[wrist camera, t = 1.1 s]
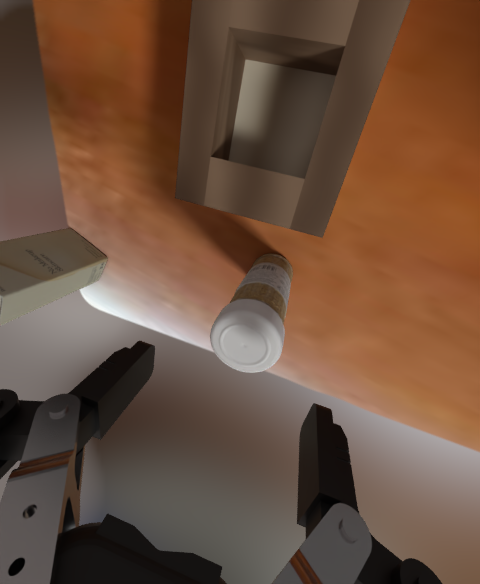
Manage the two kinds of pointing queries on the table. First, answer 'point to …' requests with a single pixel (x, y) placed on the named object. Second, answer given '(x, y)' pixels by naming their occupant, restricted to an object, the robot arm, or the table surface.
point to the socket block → (279, 103)
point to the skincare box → (44, 270)
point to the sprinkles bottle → (255, 317)
